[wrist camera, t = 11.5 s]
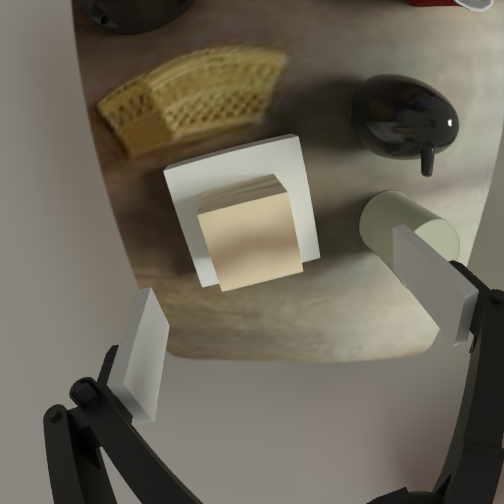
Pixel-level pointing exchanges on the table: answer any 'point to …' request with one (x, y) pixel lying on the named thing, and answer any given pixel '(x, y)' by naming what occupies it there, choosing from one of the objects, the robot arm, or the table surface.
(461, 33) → the table surface
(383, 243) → the can
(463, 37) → the table surface
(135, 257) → the table surface
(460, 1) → the plastic cup
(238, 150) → the white square slab
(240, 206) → the maple cube
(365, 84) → the pump dispenser
